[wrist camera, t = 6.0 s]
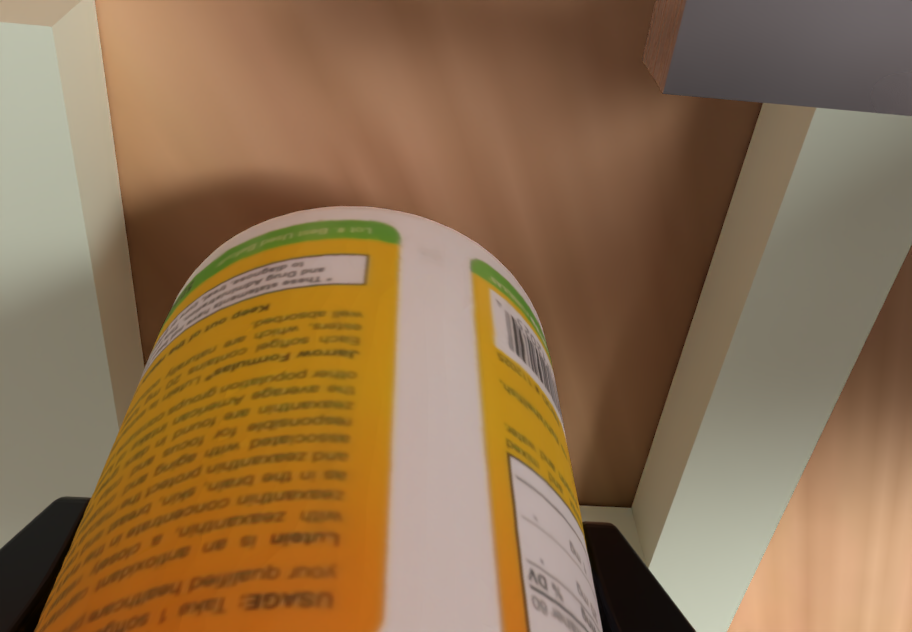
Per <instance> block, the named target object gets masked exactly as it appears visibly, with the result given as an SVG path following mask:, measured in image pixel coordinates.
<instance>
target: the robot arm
mask: <svg viewBox="0 0 912 632" xmlns="http://www.w3.org/2000/svg"><path fill="white" fill-rule="evenodd" d="M90 499H91V497H70V496H65V497H60V498H58V499H56V500H54V501H53V502H52V503H51V504H50V505H49V506H47V507H46V508H45V509H44V510H43V511H42V512H41V513H40V514H38V515H37V516H36V517H35V518H34V519H33V520H32V521H31V522H30V523H28V524H27V525H26V526H25V527H24V528H23V529H22V530H21V531H19V532H18V533H17V534H16V535H15V536H14V537H13V538H12V539H11V540H9V541H8V542H7V543H6V544H5V545H4V546H3V547H2V548H1V549H0V632H34V630H35V628H36V627H37V625H38V622H39V619H40V616H41V613H42V611H43V609H44V606H45V604H46V602H47V600H48V597H49V595H50V593H51V591H52V589H53V587H54V584H55V581H56V579H57V576H58V574H59V572H60V570H61V568H62V565H63V562H64V559H65V557H66V555H67V553H68V552H69V550H70V547H71V544H72V541H73V539H74V536H75V534H76V532H77V529H78V527H79V524H80V522H81V520H82V518H83V516H84V513H85V510H86V508H87V506H88V503H89V501H90ZM582 525H583V530H584V536H585V541H586V547H587V552H588V557H589V561H590V566H591V572H592V577H593V583H594V588H595V593H596V598H597V603H598V609H599V614H600V619H601V624H602V629H603V632H696V631H695V629H694V628H693V627H692V625H691V624H690V623H689V621H688V620H687V619H686V617H685V616H684V615H683V613H682V612H681V611H680V609H679V608H678V607H677V605H676V604H675V603H674V602H673V600H672V599H671V598H670V596H669V595H668V594H667V592H666V591H665V590H664V588H663V587H662V586H661V584H660V583H659V582H658V580H657V579H656V578H655V576H654V575H653V574H652V572H651V571H650V570H649V569H648V567H647V566H646V565H645V563H644V562H643V561H642V559H641V558H640V557H639V555H638V554H637V553H636V551H635V550H634V549H633V547H632V546H631V545H630V543H629V542H628V541H627V540H626V538H625V537H624V536H623V534H622V533H621V532H620V530H619V529H618V528H617V527H616V526H615V525H614V524H612V523H608V522H591V521H583V522H582Z"/></svg>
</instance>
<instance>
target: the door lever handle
mask: <svg viewBox="0 0 912 632" xmlns="http://www.w3.org/2000/svg"><path fill="white" fill-rule="evenodd" d="M642 61H643V62H644V64H645V66H646V67H647V69H648V70H649V72H650V74H651V75H652V77H653V79H654V80H655V82H656V83H657V85H658V87H659V88H660V90H661V92H662V93H663V94H671V95H682V96H693V97H704V98H716V99H727V100H738V101H749V102H760V103H771V104H782V105H793V106H804V107H815V108H826V109H837V110H849V111H860V112H871V113H882V114H893V115H904V116H912V0H656V1H655V6H654V10H653V14H652V18H651V23H650V27H649V31H648V36H647V40H646V44H645V48H644V53H643V57H642Z"/></svg>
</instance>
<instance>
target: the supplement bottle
mask: <svg viewBox="0 0 912 632" xmlns="http://www.w3.org/2000/svg"><path fill="white" fill-rule="evenodd" d="M34 632H603V629H602V624H601V619H600V614H599V609H598V603H597V598H596V593H595V588H594V583H593V577H592V572H591V566H590V561H589V557H588V552H587V547H586V541H585V536H584V530H583V525H582V517H581V512H580V507H579V502H578V497H577V492H576V488H575V483H574V477H573V471H572V466H571V461H570V456H569V452H568V447H567V441H566V435H565V429H564V424H563V418H562V413H561V408H560V404H559V399H558V393H557V387H556V382H555V377H554V372H553V367H552V362H551V358H550V354H549V351H548V347H547V344H546V339H545V335H544V332H543V328H542V325H541V322H540V320H539V317H538V315H537V312H536V310H535V308H534V306H533V304H532V302H531V301H530V299H529V297H528V296H527V294H526V293H525V291H524V289H523V288H522V287H521V285H520V284H519V282H518V281H517V280H516V278H515V277H514V276H513V275H512V274H511V272H510V271H509V270H508V269H507V268H506V267H505V266H504V265H503V264H502V263H501V262H500V261H499V260H498V259H497V258H496V257H494V256H493V255H492V254H491V253H489V252H488V251H487V250H486V249H485V248H483V247H482V246H481V245H480V244H478V243H476V242H475V241H473V240H471V239H470V238H468V237H467V236H465V235H463V234H461V233H459V232H458V231H456V230H454V229H452V228H450V227H447V226H445V225H443V224H440V223H438V222H435V221H433V220H430V219H427V218H424V217H421V216H418V215H415V214H410V213H406V212H402V211H397V210H391V209H385V208H377V207H369V206H333V207H322V208H315V209H308V210H302V211H296V212H293V213H289V214H286V215H282V216H279V217H275V218H272V219H269V220H267V221H264V222H262V223H259V224H257V225H254V226H252V227H250V228H248V229H247V230H245V231H243V232H241V233H239V234H237V235H235V236H234V237H232V238H231V239H229V240H228V241H226V242H225V243H224V244H222V245H221V246H220V247H218V248H217V249H216V250H215V251H214V252H213V253H212V254H211V255H209V256H208V257H207V258H206V259H205V260H204V261H203V262H202V263H201V265H200V266H199V267H198V268H197V269H196V270H195V271H194V272H193V274H192V275H191V276H190V278H189V279H188V280H187V282H186V283H185V285H184V286H183V288H182V289H181V291H180V292H179V294H178V296H177V298H176V300H175V302H174V304H173V306H172V308H171V310H170V312H169V314H168V316H167V318H166V320H165V322H164V324H163V326H162V328H161V330H160V332H159V335H158V337H157V340H156V342H155V344H154V347H153V349H152V352H151V354H150V356H149V359H148V361H147V364H146V366H145V369H144V371H143V374H142V376H141V379H140V381H139V384H138V387H137V389H136V392H135V394H134V396H133V399H132V401H131V403H130V405H129V408H128V410H127V412H126V415H125V417H124V420H123V423H122V425H121V428H120V430H119V432H118V435H117V437H116V440H115V442H114V444H113V447H112V449H111V451H110V454H109V456H108V459H107V461H106V463H105V466H104V468H103V471H102V473H101V476H100V478H99V480H98V483H97V486H96V488H95V491H94V493H93V495H92V497H91V499H90V501H89V503H88V506H87V508H86V510H85V513H84V516H83V518H82V520H81V522H80V524H79V527H78V529H77V532H76V534H75V536H74V539H73V541H72V544H71V547H70V550H69V552H68V553H67V555H66V557H65V559H64V562H63V565H62V568H61V570H60V572H59V574H58V576H57V579H56V581H55V584H54V587H53V589H52V591H51V593H50V595H49V597H48V600H47V602H46V604H45V606H44V609H43V611H42V613H41V616H40V619H39V622H38V625H37V627H36V628H35V630H34Z"/></svg>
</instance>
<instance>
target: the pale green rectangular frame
mask: <svg viewBox="0 0 912 632" xmlns="http://www.w3.org/2000/svg"><path fill="white" fill-rule="evenodd" d="M911 245H912V116H904V115H893V114H882V113H871V112H860V111H849V110H837V109H826V108H815V107H804V106H793V105H782V104H771V103H763V104H762V108H761V111H760V114H759V117H758V120H757V123H756V126H755V129H754V132H753V135H752V138H751V141H750V144H749V147H748V151H747V154H746V157H745V160H744V163H743V166H742V169H741V172H740V175H739V178H738V181H737V184H736V187H735V191H734V194H733V197H732V200H731V203H730V206H729V209H728V212H727V215H726V218H725V221H724V224H723V227H722V230H721V234H720V237H719V240H718V243H717V246H716V249H715V252H714V255H713V258H712V261H711V264H710V267H709V270H708V273H707V277H706V280H705V283H704V286H703V289H702V292H701V295H700V298H699V301H698V304H697V307H696V310H695V313H694V316H693V320H692V323H691V326H690V329H689V332H688V335H687V338H686V341H685V344H684V347H683V350H682V353H681V356H680V360H679V363H678V366H677V369H676V372H675V375H674V378H673V381H672V384H671V387H670V390H669V393H668V396H667V399H666V403H665V406H664V409H663V412H662V415H661V418H660V421H659V424H658V427H657V430H656V433H655V436H654V439H653V442H652V446H651V449H650V452H649V455H648V458H647V461H646V464H645V467H644V470H643V473H642V476H641V479H640V482H639V485H638V489H637V492H636V495H635V498H634V501H633V504H632V507H631V508H623V507H601V506H580V505H579V507H580V512H581V517H582V522H583V521H591V522H608V523H612V524H614V525H615V526H616V527H617V528H618V529H619V530H620V532H621V533H622V534H623V536H624V537H625V538H626V540H627V541H628V542H629V543H630V545H631V546H632V547H633V549H634V550H635V551H636V553H637V554H638V555H639V557H640V558H641V559H642V561H643V562H644V563H645V565H646V566H647V567H648V569H649V570H650V571H651V572H652V574H653V575H654V576H655V578H656V579H657V580H658V582H659V583H660V584H661V586H662V587H663V588H664V590H665V591H666V592H667V594H668V595H669V596H670V598H671V599H672V600H673V602H674V603H675V604H676V605H677V607H678V608H679V609H680V611H681V612H682V613H683V615H684V616H685V617H686V619H687V620H688V621H689V623H690V624H691V625H692V627H693V628H694V629H695V631H696V632H727V630H728V628H729V626H730V624H731V622H732V620H733V618H734V615H735V613H736V611H737V609H738V607H739V605H740V603H741V601H742V599H743V597H744V594H745V592H746V590H747V588H748V586H749V584H750V582H751V580H752V578H753V576H754V574H755V571H756V569H757V567H758V565H759V563H760V561H761V559H762V557H763V555H764V553H765V551H766V548H767V546H768V544H769V542H770V540H771V538H772V536H773V534H774V532H775V530H776V528H777V525H778V523H779V521H780V519H781V517H782V515H783V513H784V511H785V509H786V507H787V505H788V502H789V500H790V498H791V496H792V494H793V492H794V490H795V488H796V486H797V484H798V482H799V479H800V477H801V475H802V473H803V471H804V469H805V467H806V465H807V463H808V461H809V459H810V456H811V454H812V452H813V450H814V448H815V446H816V444H817V442H818V440H819V438H820V436H821V433H822V431H823V429H824V427H825V425H826V423H827V421H828V419H829V417H830V415H831V412H832V410H833V408H834V406H835V404H836V402H837V400H838V398H839V396H840V394H841V392H842V389H843V387H844V385H845V383H846V381H847V379H848V377H849V375H850V373H851V371H852V369H853V366H854V364H855V362H856V360H857V358H858V356H859V354H860V352H861V350H862V348H863V346H864V343H865V341H866V339H867V337H868V335H869V333H870V331H871V329H872V327H873V325H874V323H875V320H876V318H877V316H878V314H879V312H880V310H881V308H882V306H883V304H884V302H885V300H886V297H887V295H888V293H889V291H890V289H891V287H892V285H893V283H894V281H895V279H896V277H897V274H898V272H899V270H900V268H901V266H902V264H903V262H904V260H905V258H906V256H907V254H908V251H909V249H910V247H911ZM144 369H145V367H144V360H143V353H142V345H141V338H140V330H139V323H138V316H137V308H136V301H135V294H134V286H133V279H132V272H131V264H130V257H129V249H128V242H127V235H126V227H125V220H124V213H123V205H122V198H121V191H120V183H119V176H118V168H117V161H116V154H115V146H114V139H113V132H112V124H111V117H110V109H109V102H108V95H107V87H106V80H105V73H104V65H103V58H102V51H101V43H100V36H99V28H98V21H97V14H96V6H95V0H0V549H1V548H2V547H3V546H4V545H5V544H6V543H7V542H8V541H9V540H11V539H12V538H13V537H14V536H15V535H16V534H17V533H18V532H19V531H21V530H22V529H23V528H24V527H25V526H26V525H27V524H28V523H30V522H31V521H32V520H33V519H34V518H35V517H36V516H37V515H38V514H40V513H41V512H42V511H43V510H44V509H45V508H46V507H47V506H49V505H50V504H51V503H52V502H53V501H54V500H56V499H58V498H60V497H65V496H70V497H92V495H93V493H94V491H95V488H96V486H97V483H98V480H99V478H100V476H101V473H102V471H103V468H104V466H105V463H106V461H107V459H108V456H109V454H110V451H111V449H112V447H113V444H114V442H115V440H116V437H117V435H118V432H119V430H120V428H121V425H122V423H123V420H124V417H125V415H126V412H127V410H128V408H129V405H130V403H131V401H132V399H133V396H134V394H135V392H136V389H137V387H138V384H139V381H140V379H141V376H142V374H143V371H144Z"/></svg>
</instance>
